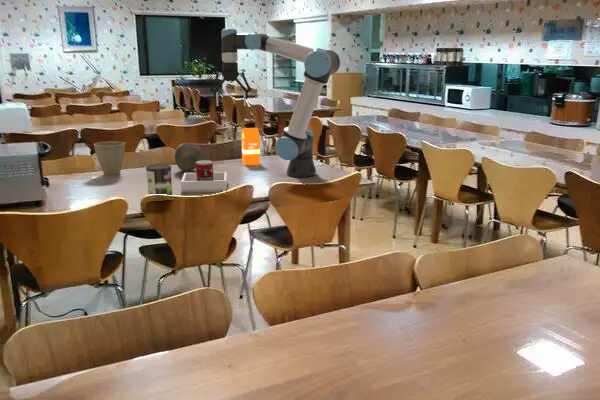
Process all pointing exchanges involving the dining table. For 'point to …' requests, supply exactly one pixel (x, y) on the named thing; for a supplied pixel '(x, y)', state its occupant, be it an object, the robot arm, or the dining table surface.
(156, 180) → the coffee can
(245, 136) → the orange juice
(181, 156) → the cantaloupe
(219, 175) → the tray
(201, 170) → the canned food
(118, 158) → the plant pot
